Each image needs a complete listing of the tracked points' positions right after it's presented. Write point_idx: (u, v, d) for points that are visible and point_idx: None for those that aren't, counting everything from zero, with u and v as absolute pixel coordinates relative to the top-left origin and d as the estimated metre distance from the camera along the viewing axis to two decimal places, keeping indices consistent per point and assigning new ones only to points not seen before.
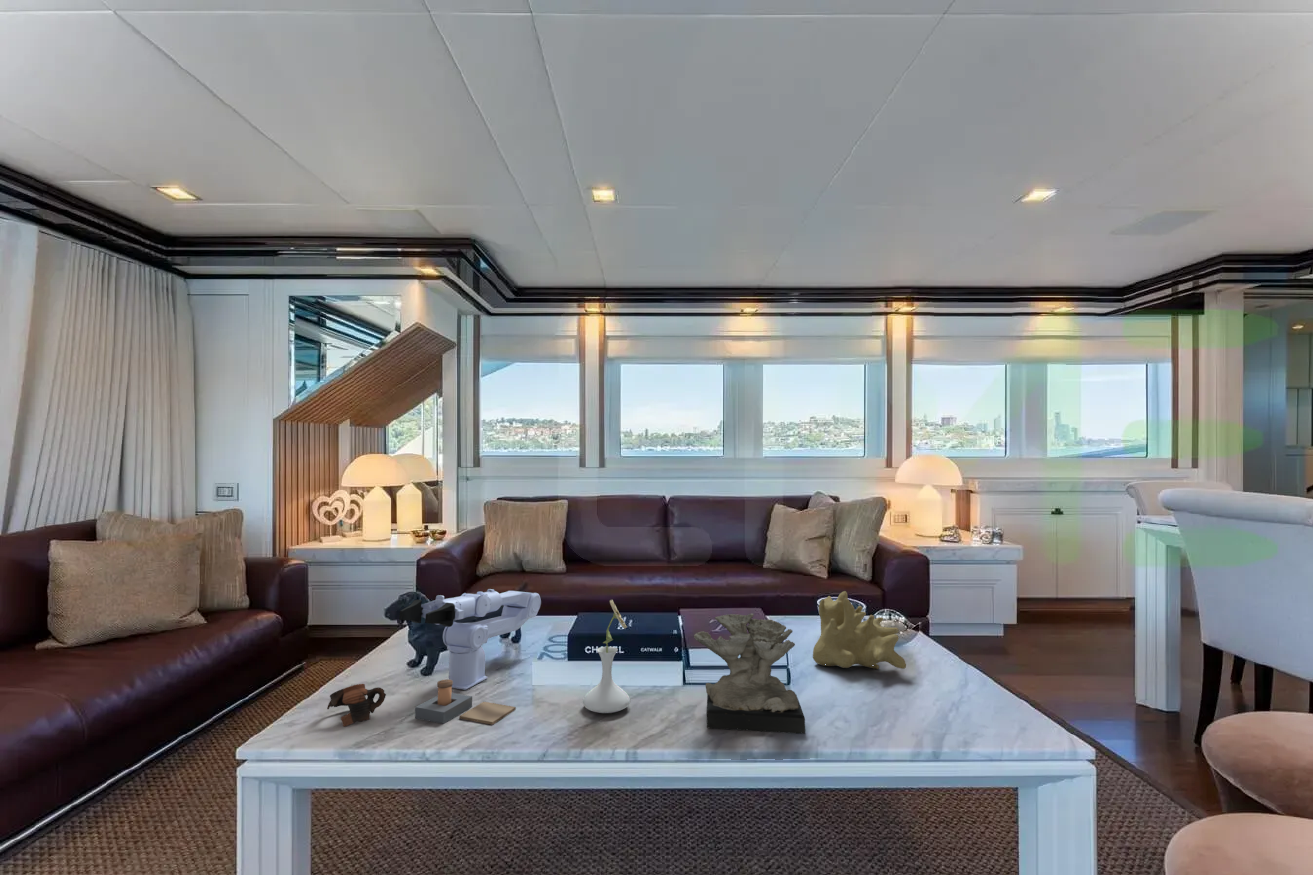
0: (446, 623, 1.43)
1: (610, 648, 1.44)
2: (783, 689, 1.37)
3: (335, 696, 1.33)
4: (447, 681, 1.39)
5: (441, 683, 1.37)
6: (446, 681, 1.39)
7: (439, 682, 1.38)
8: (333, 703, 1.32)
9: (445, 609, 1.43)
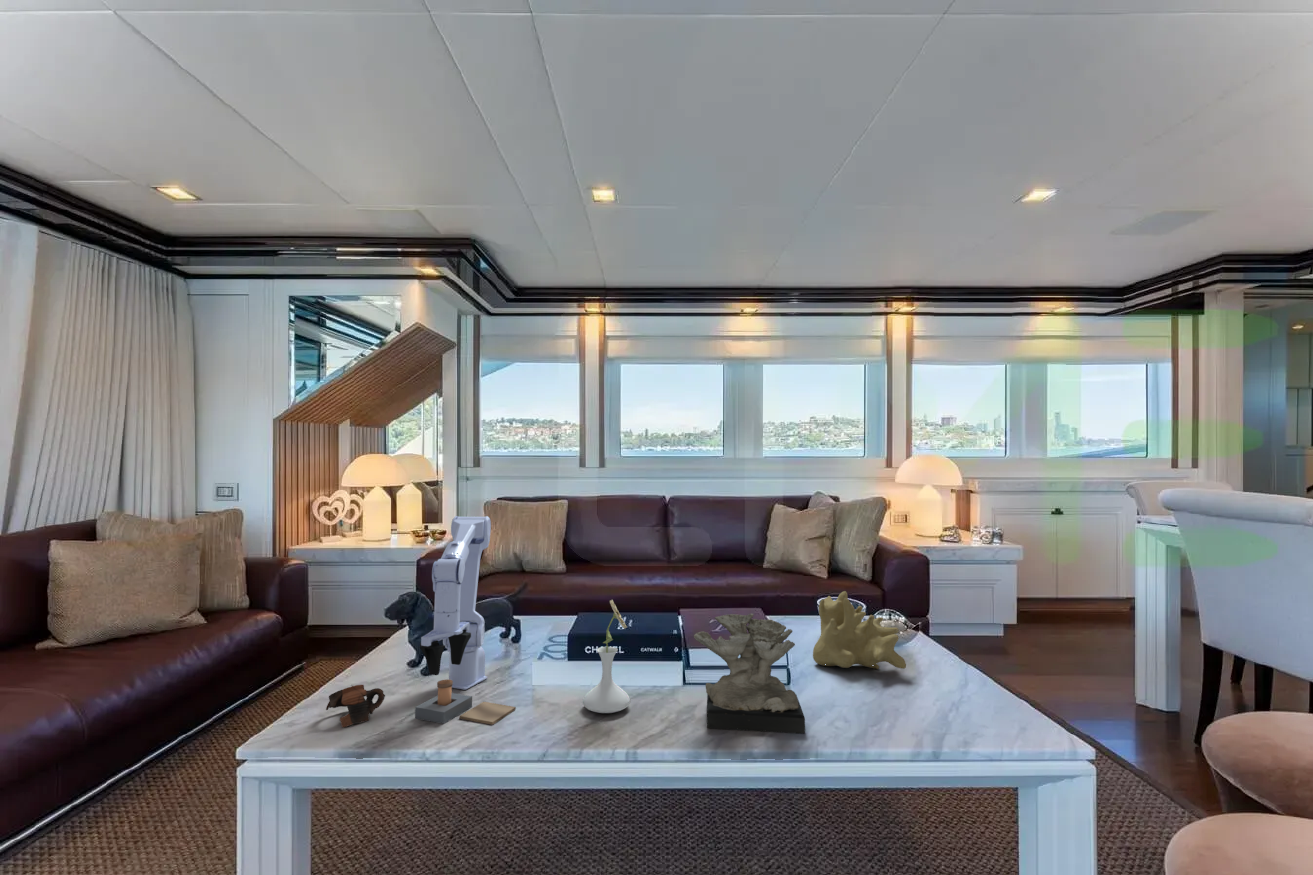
0: None
1: (610, 648, 1.44)
2: (783, 689, 1.37)
3: (334, 697, 1.32)
4: (447, 681, 1.39)
5: (441, 683, 1.37)
6: (446, 681, 1.39)
7: (439, 682, 1.38)
8: (332, 704, 1.31)
9: None
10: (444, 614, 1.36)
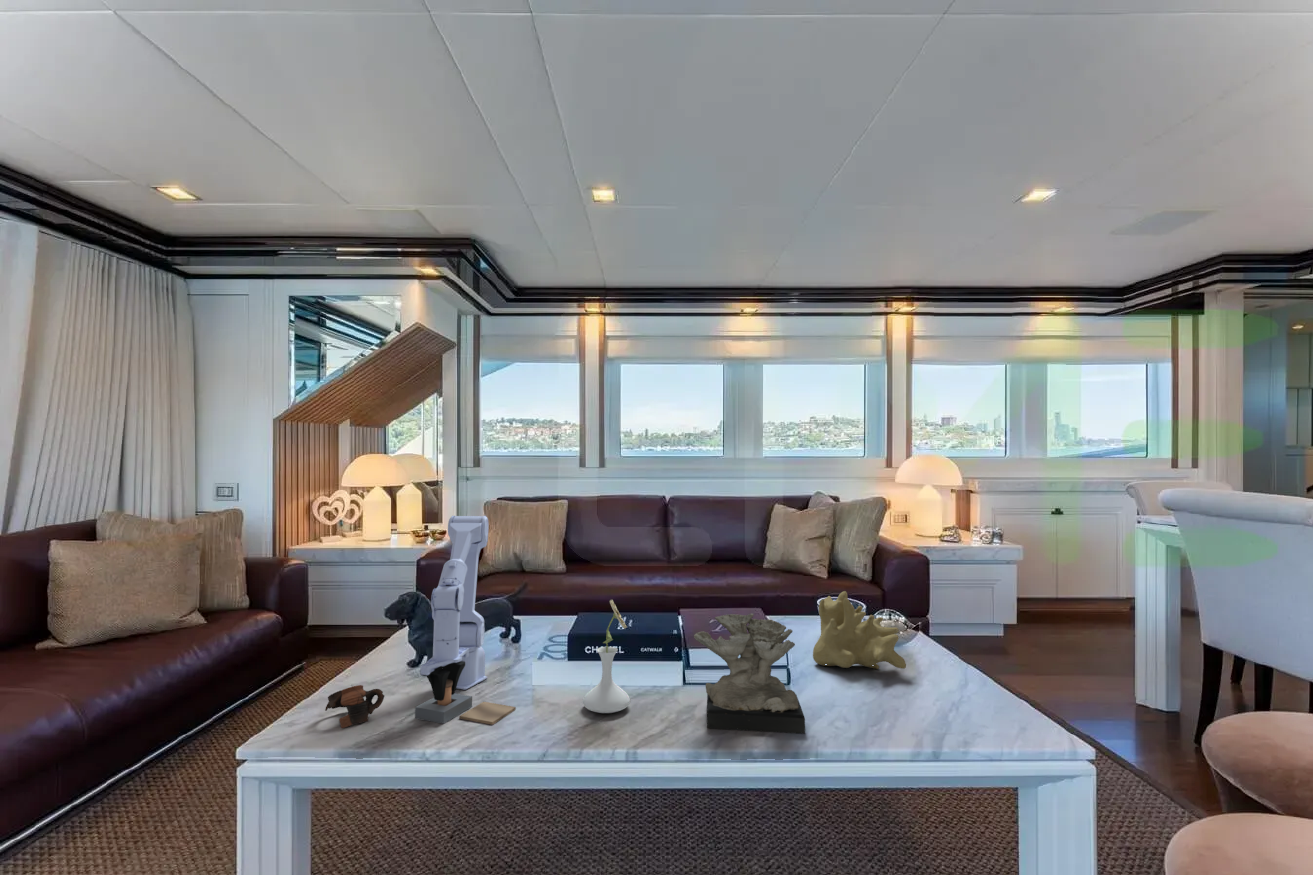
0: None
1: (610, 648, 1.44)
2: (783, 689, 1.37)
3: (333, 698, 1.32)
4: (447, 681, 1.39)
5: None
6: (446, 681, 1.39)
7: None
8: (331, 705, 1.31)
9: None
10: (443, 642, 1.36)
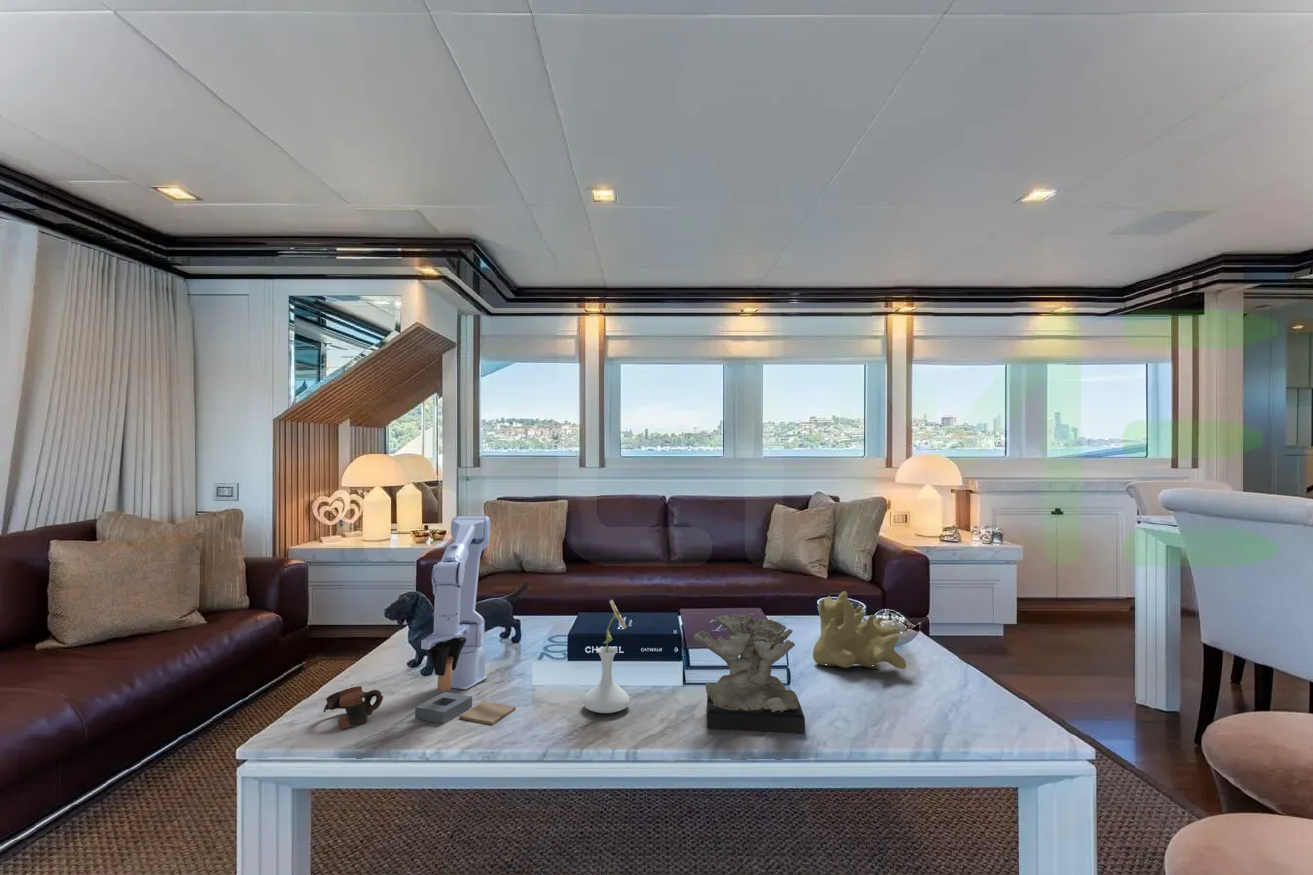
0: None
1: (610, 648, 1.44)
2: (783, 689, 1.37)
3: (332, 699, 1.31)
4: (448, 657, 1.39)
5: None
6: (447, 657, 1.39)
7: None
8: (330, 706, 1.30)
9: None
10: (444, 617, 1.36)
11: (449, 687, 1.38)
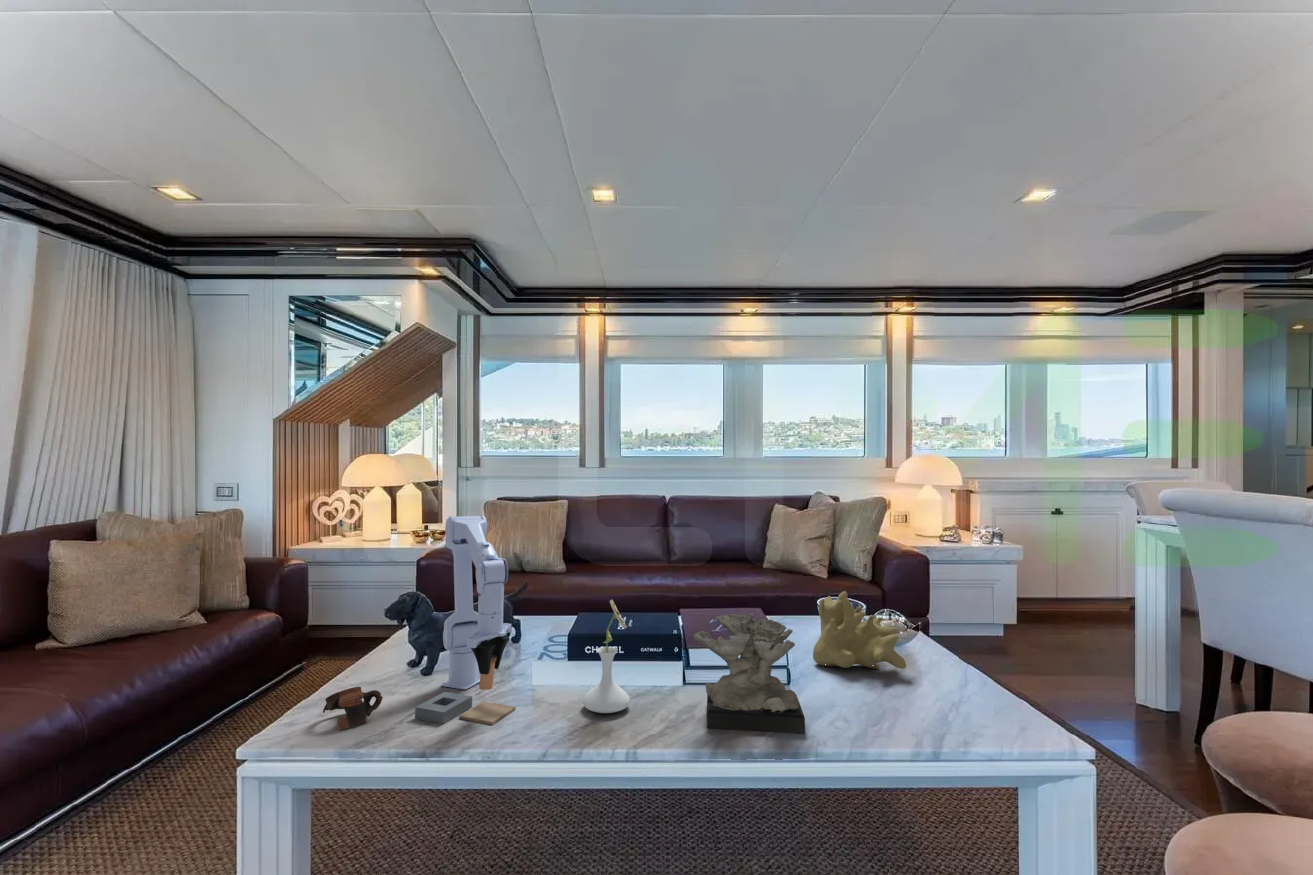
0: None
1: (610, 648, 1.44)
2: (783, 689, 1.37)
3: (331, 699, 1.31)
4: (491, 656, 1.39)
5: None
6: None
7: None
8: (329, 706, 1.30)
9: None
10: (488, 616, 1.36)
11: (491, 686, 1.37)
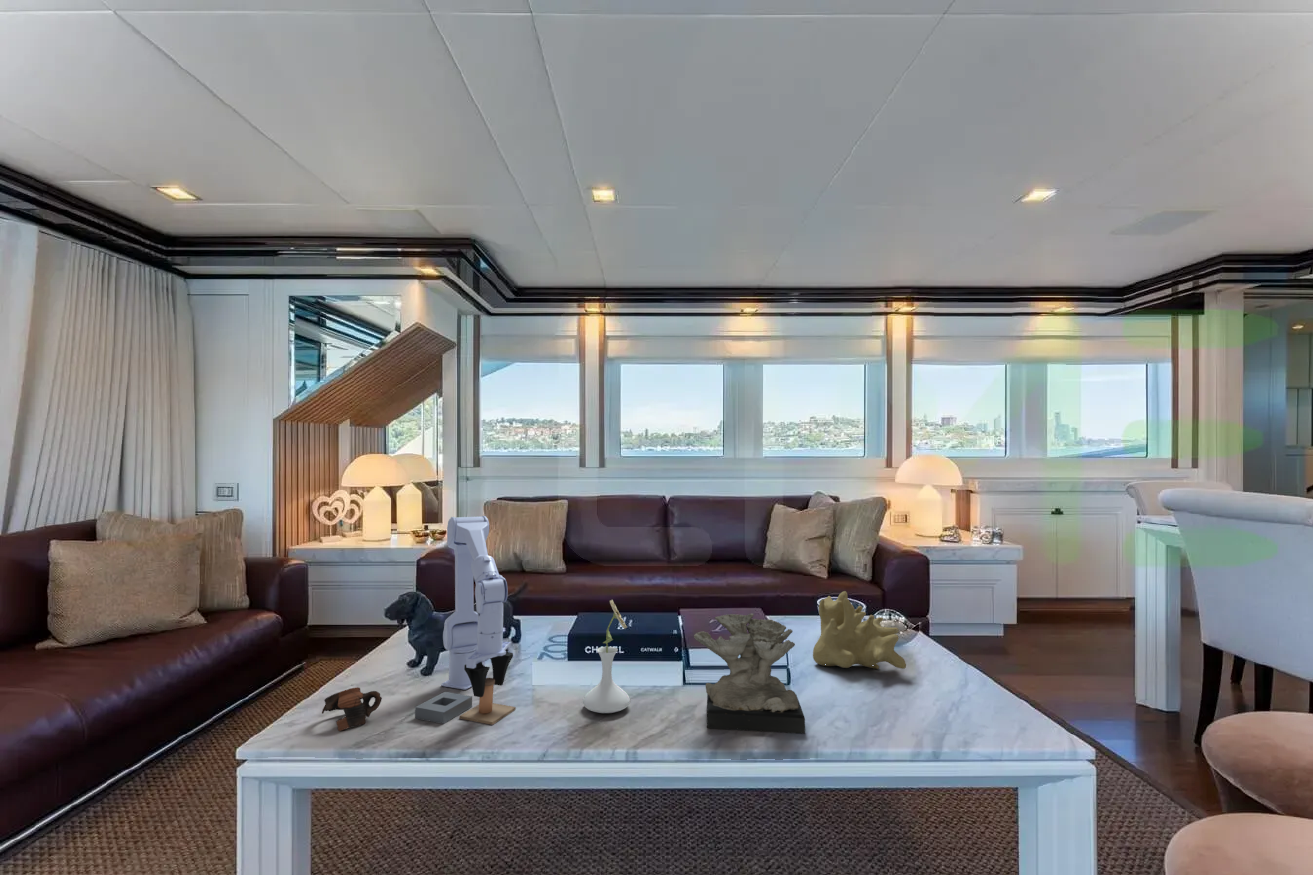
0: None
1: (610, 648, 1.44)
2: (783, 689, 1.37)
3: (330, 700, 1.31)
4: (489, 679, 1.39)
5: None
6: (488, 679, 1.38)
7: None
8: (328, 707, 1.29)
9: None
10: (488, 635, 1.36)
11: (491, 709, 1.37)
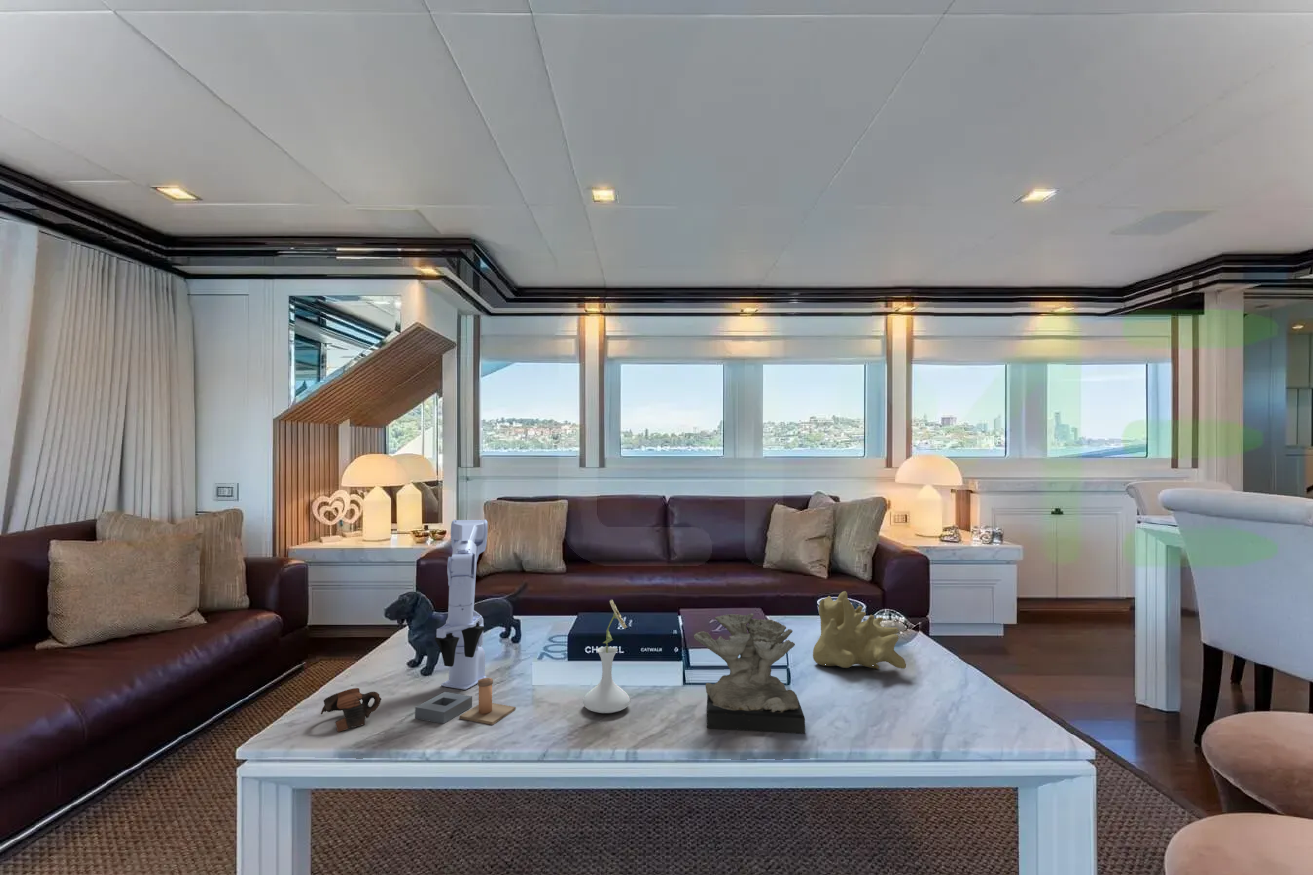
0: None
1: (610, 648, 1.44)
2: (783, 689, 1.37)
3: (329, 701, 1.30)
4: (487, 679, 1.38)
5: (482, 682, 1.37)
6: (486, 679, 1.38)
7: (479, 681, 1.37)
8: (327, 708, 1.29)
9: None
10: (458, 607, 1.41)
11: (490, 709, 1.37)
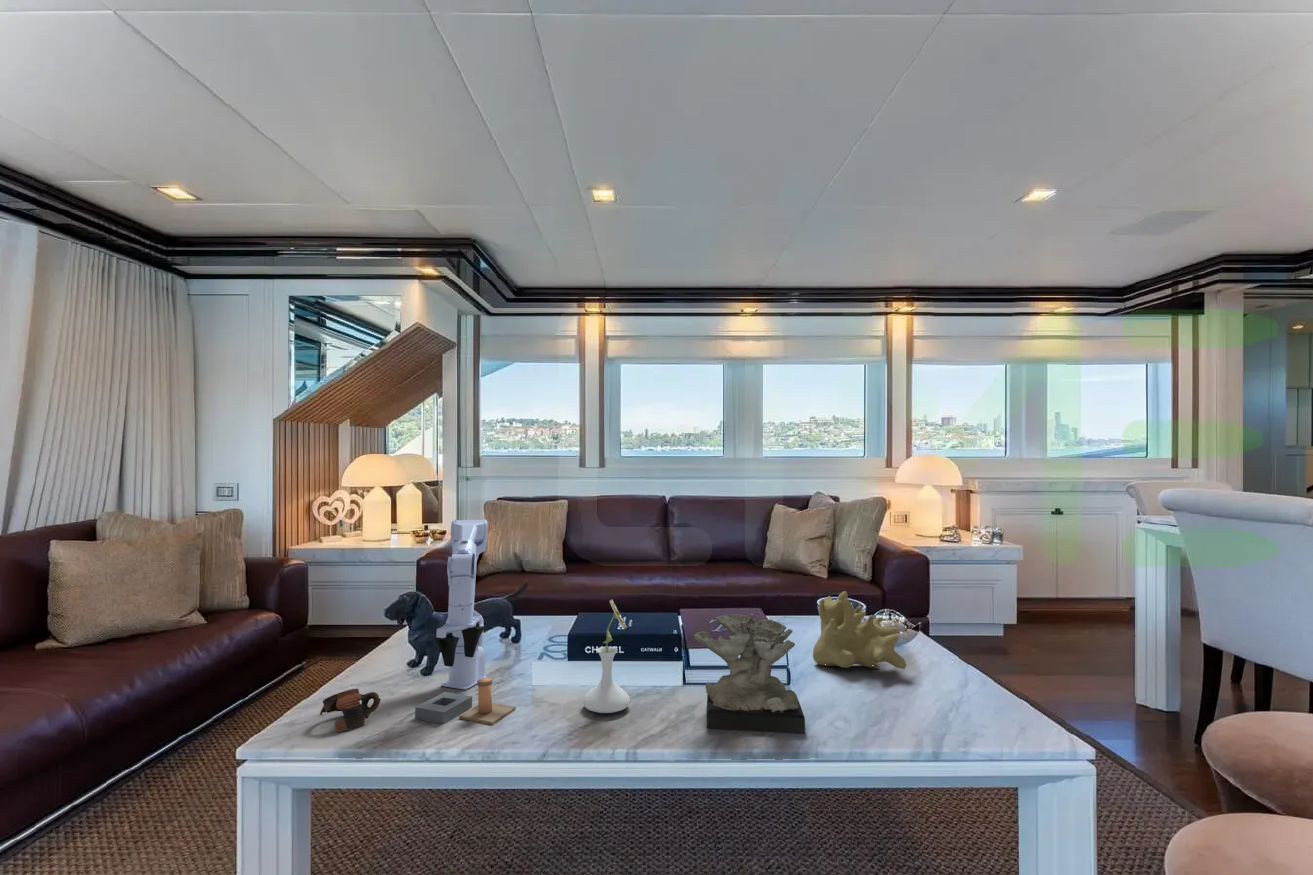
0: None
1: (610, 648, 1.44)
2: (783, 689, 1.37)
3: (328, 701, 1.30)
4: (487, 679, 1.38)
5: (481, 681, 1.37)
6: (486, 679, 1.38)
7: (479, 680, 1.38)
8: (326, 709, 1.29)
9: None
10: (458, 607, 1.41)
11: (490, 709, 1.37)
